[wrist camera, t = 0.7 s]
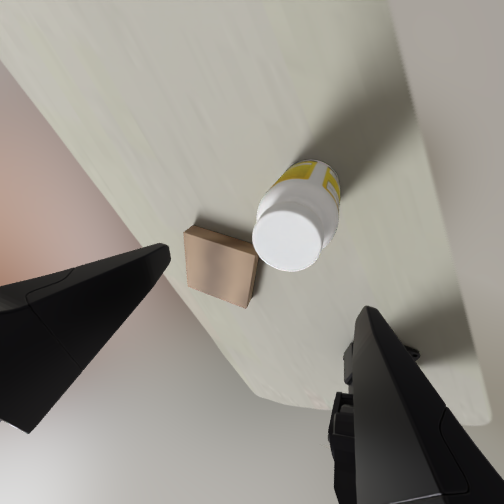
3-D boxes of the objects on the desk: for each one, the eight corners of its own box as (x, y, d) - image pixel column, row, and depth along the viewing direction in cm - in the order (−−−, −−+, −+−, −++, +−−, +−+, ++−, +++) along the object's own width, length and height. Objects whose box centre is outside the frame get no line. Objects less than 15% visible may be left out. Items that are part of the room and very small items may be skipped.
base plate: (260, 246, 25) (255, 255, 23) (251, 298, 30) (246, 308, 28) (193, 225, 26) (183, 232, 25) (195, 277, 32) (187, 286, 30)
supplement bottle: (270, 201, 21) (228, 252, 14) (297, 147, 18) (260, 174, 10) (318, 227, 21) (303, 295, 13) (354, 177, 18) (361, 228, 10)
